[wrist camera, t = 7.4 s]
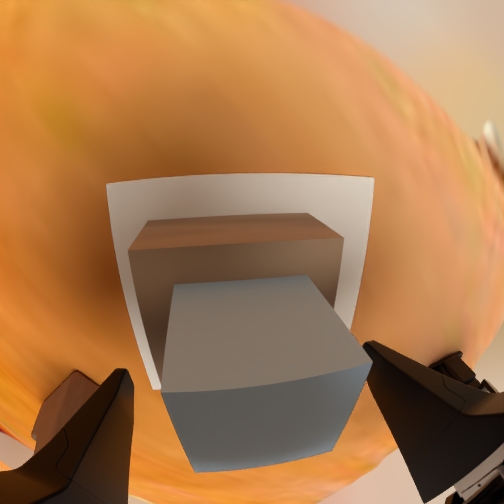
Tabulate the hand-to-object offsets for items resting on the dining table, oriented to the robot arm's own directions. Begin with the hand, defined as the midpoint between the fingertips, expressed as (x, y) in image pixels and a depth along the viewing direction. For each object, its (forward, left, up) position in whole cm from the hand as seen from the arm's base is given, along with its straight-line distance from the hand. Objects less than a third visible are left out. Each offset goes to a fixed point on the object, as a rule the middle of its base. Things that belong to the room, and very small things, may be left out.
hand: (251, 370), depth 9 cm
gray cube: (0, 0, -2) cm, 2 cm away
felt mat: (-1, -1, -6) cm, 7 cm away
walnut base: (0, 0, -6) cm, 6 cm away
